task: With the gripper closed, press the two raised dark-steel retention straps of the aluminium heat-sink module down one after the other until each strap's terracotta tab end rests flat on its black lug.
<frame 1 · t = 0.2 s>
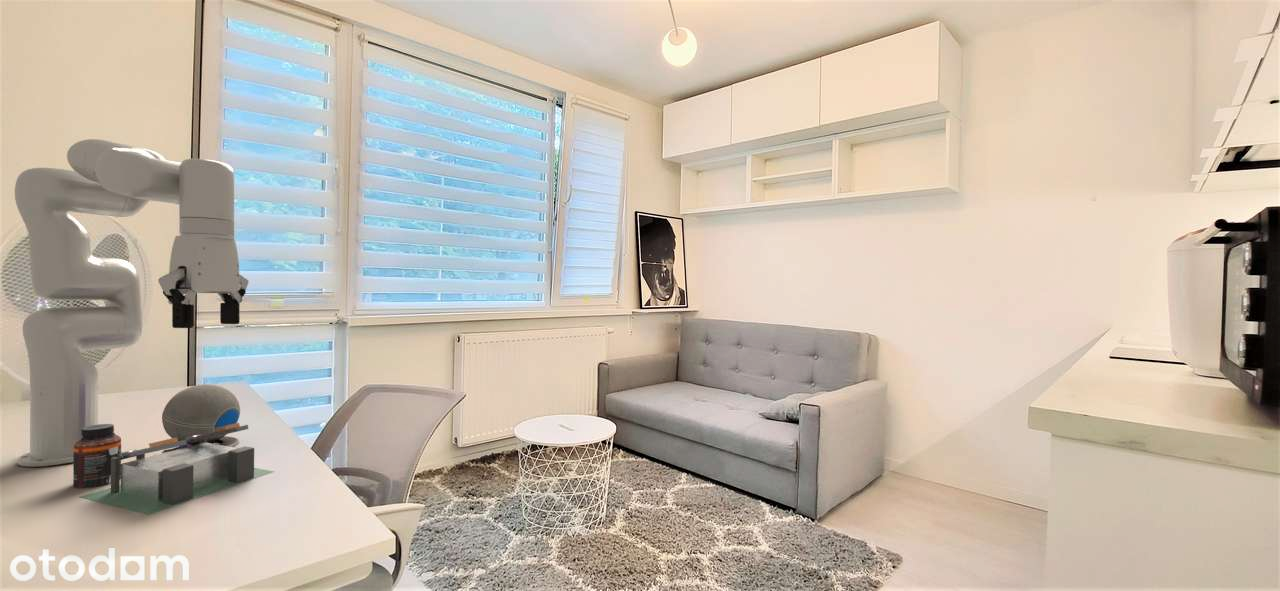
hand: (207, 325, 91), 30 cm above the table, fingers open, 9 cm apart
strap a: (151, 448, 87), point 9 cm above the table, hinge at 15.0°
strap b: (216, 432, 97), point 9 cm above the table, hinge at 15.0°
supplement bottle: (97, 489, 92), on the table
grey egg-shaped pod: (202, 453, 112), on the table
board: (183, 489, 92), on the table
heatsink: (183, 483, 92), resting on board
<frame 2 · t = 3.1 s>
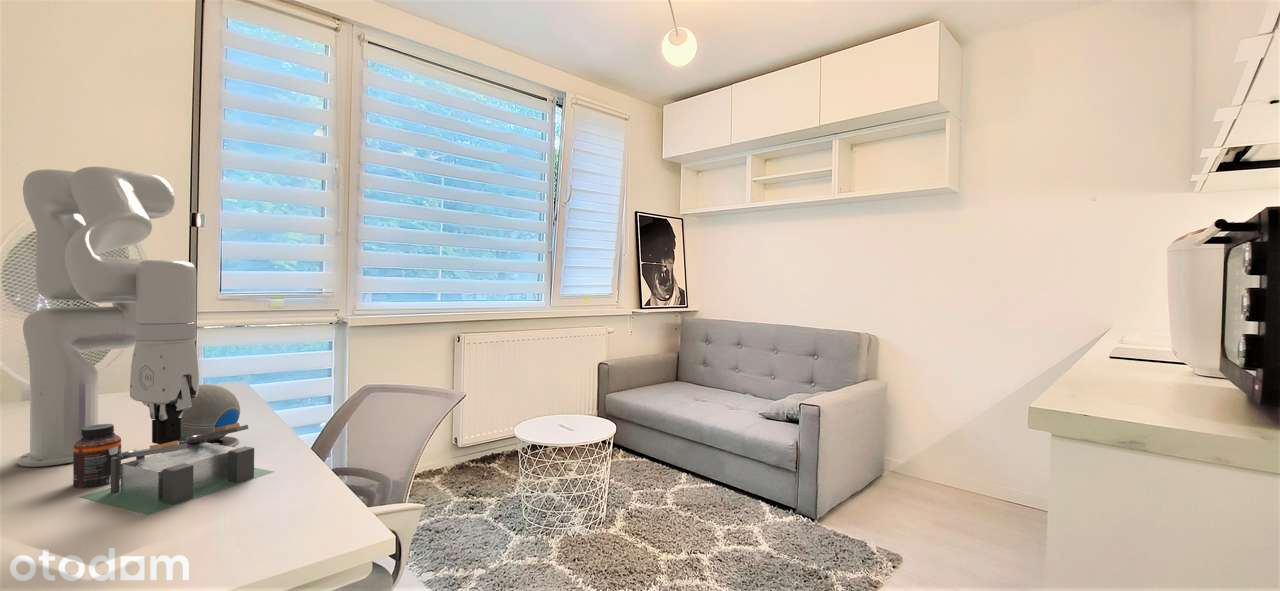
hand: (166, 441, 86), 11 cm above the table, fingers closed
strap a: (152, 449, 87), point 9 cm above the table, hinge at 12.4°, touching gripper
everything else where it was.
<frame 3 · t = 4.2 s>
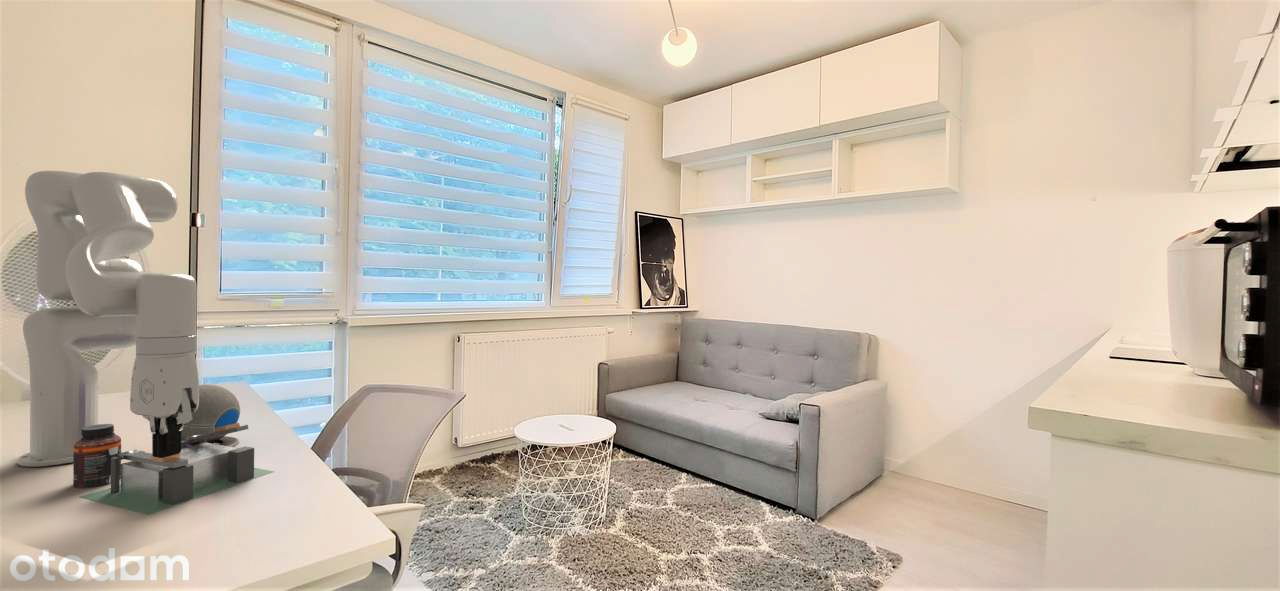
hand: (166, 454, 86), 9 cm above the table, fingers closed
strap a: (152, 457, 87), point 8 cm above the table, hinge at 1.0°, touching gripper
everything else where it was.
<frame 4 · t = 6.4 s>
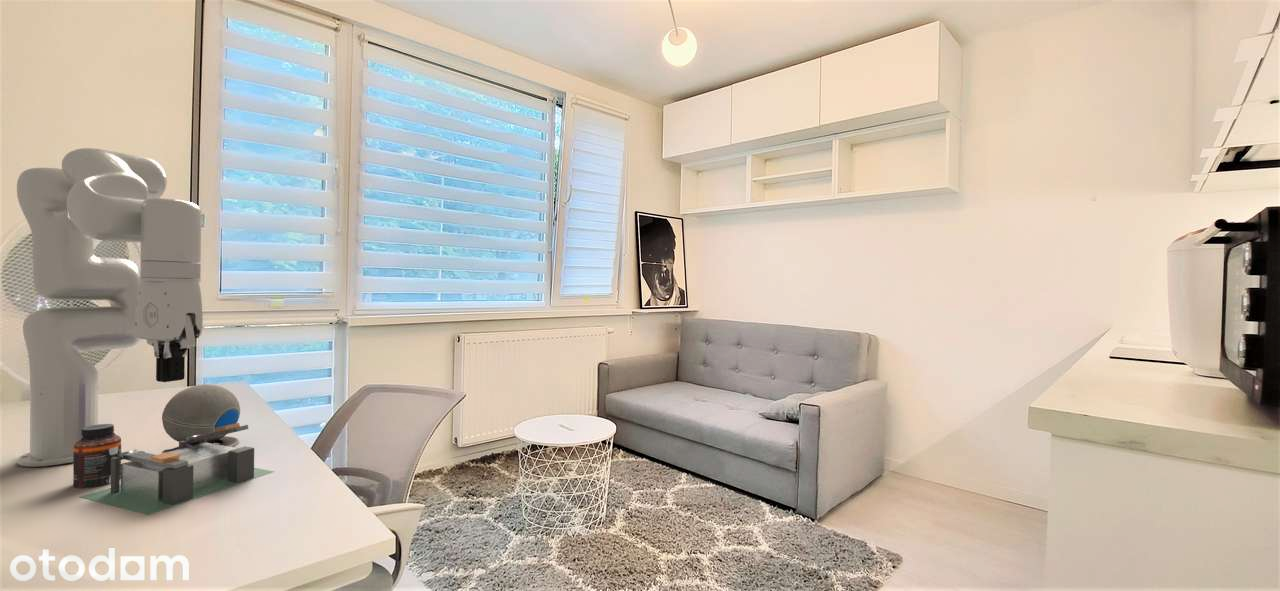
hand: (170, 380, 87), 21 cm above the table, fingers closed
strap a: (152, 458, 87), point 7 cm above the table, hinge at 0.0°
everything else where it was.
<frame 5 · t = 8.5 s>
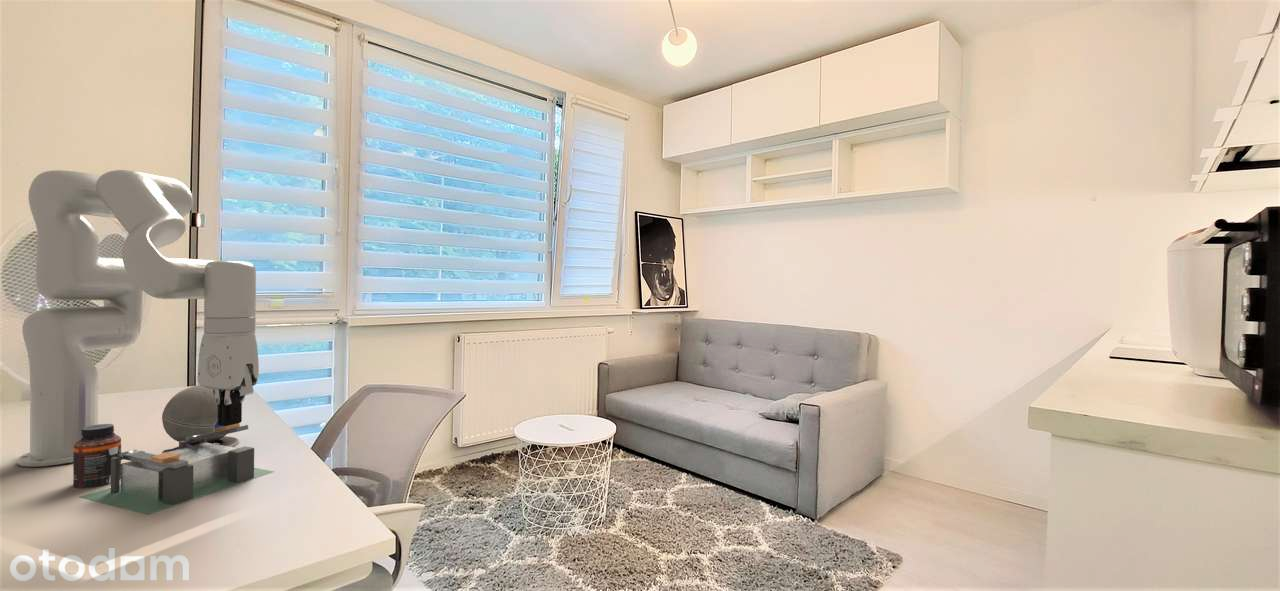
hand: (229, 423, 96), 11 cm above the table, fingers closed
strap b: (216, 432, 97), point 9 cm above the table, hinge at 14.9°, touching gripper
everything else where it was.
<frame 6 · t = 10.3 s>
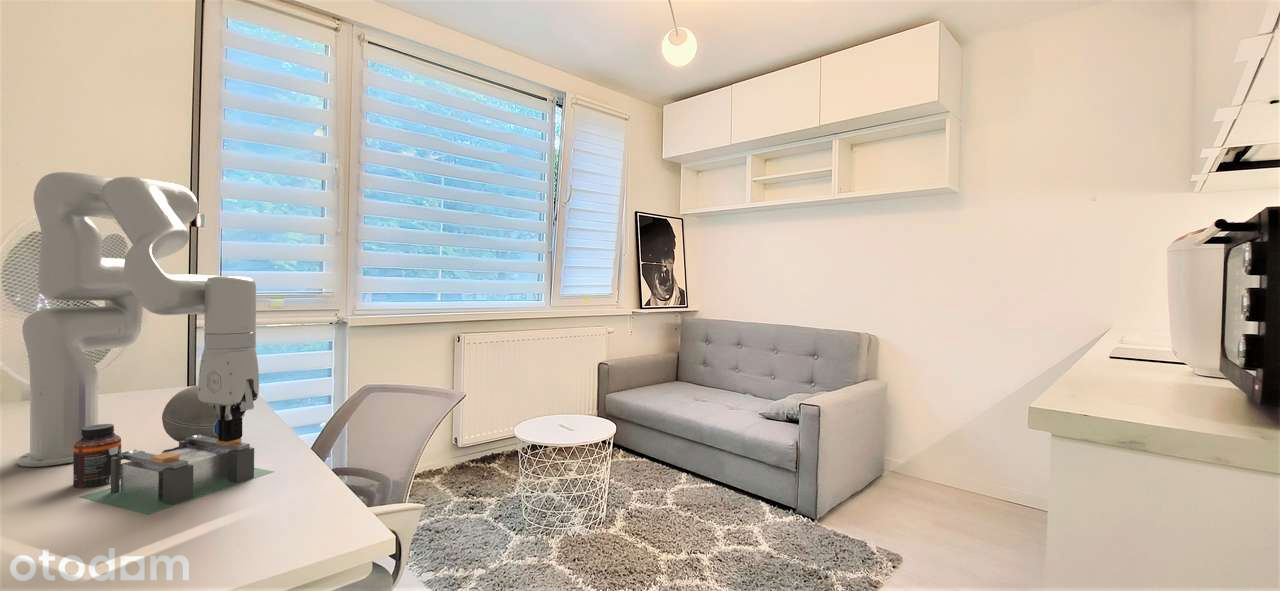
hand: (230, 439, 96), 8 cm above the table, fingers closed
strap b: (217, 441, 97), point 7 cm above the table, hinge at 0.2°, touching gripper
everything else where it was.
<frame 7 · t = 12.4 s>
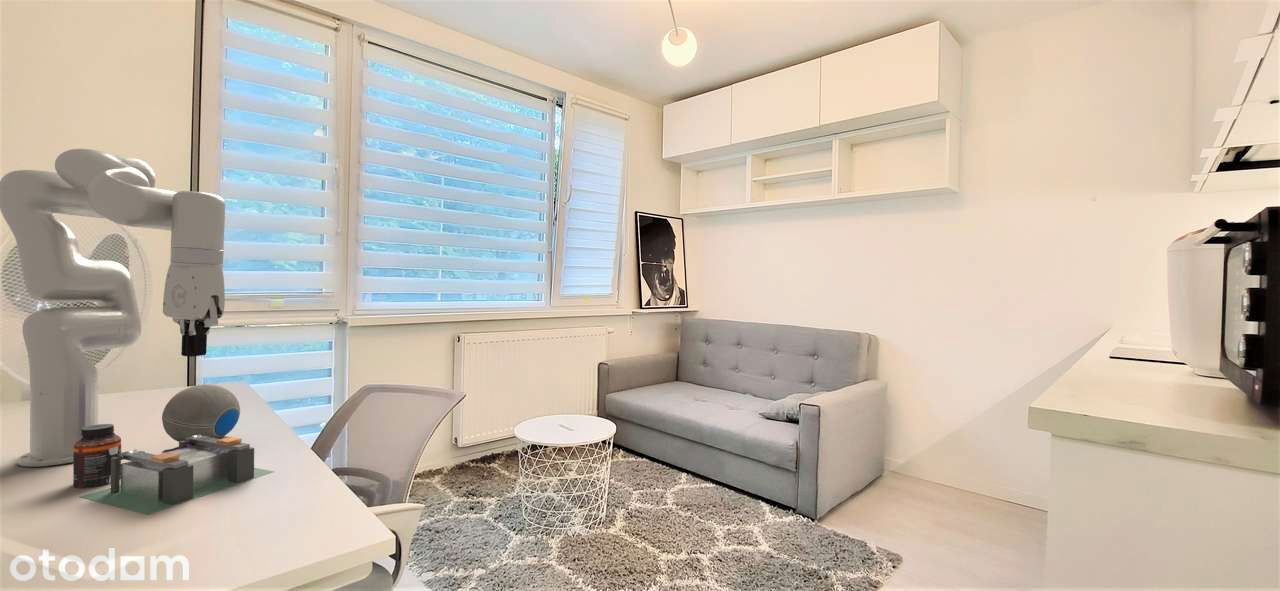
hand: (193, 355, 96), 24 cm above the table, fingers closed
strap b: (217, 441, 97), point 7 cm above the table, hinge at 0.0°
everything else where it was.
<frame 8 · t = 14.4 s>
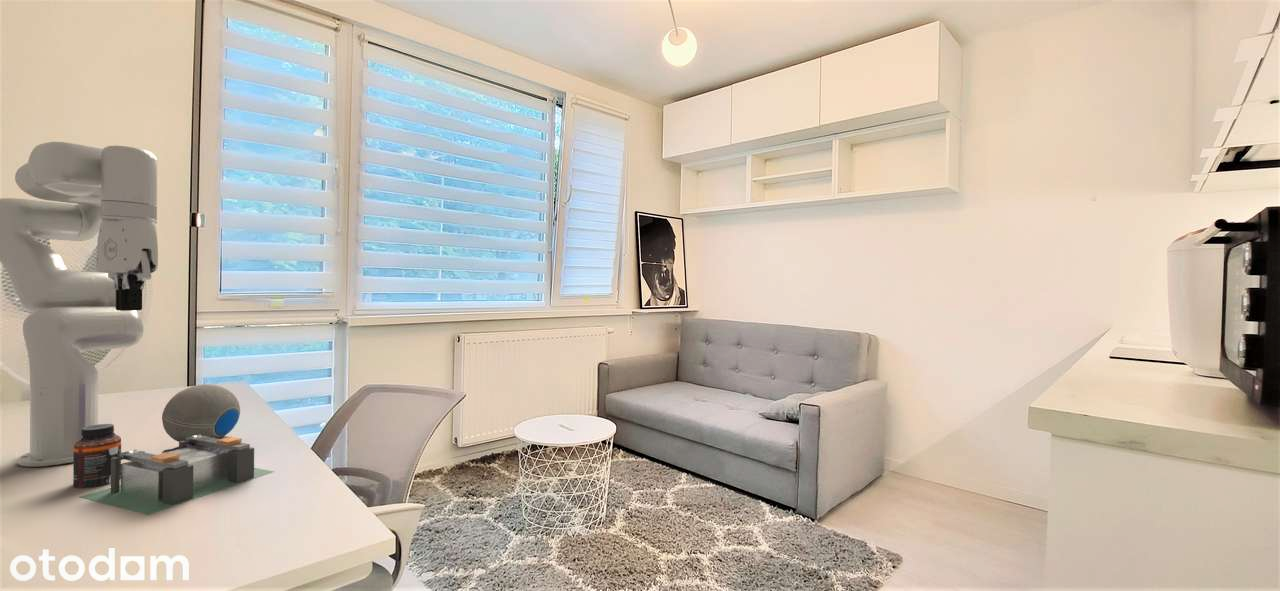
hand: (129, 310, 97), 32 cm above the table, fingers closed
nothing on the table moved.
at the end: strap a at +0° (first picture: +15°); strap b at +0° (first picture: +15°) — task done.
